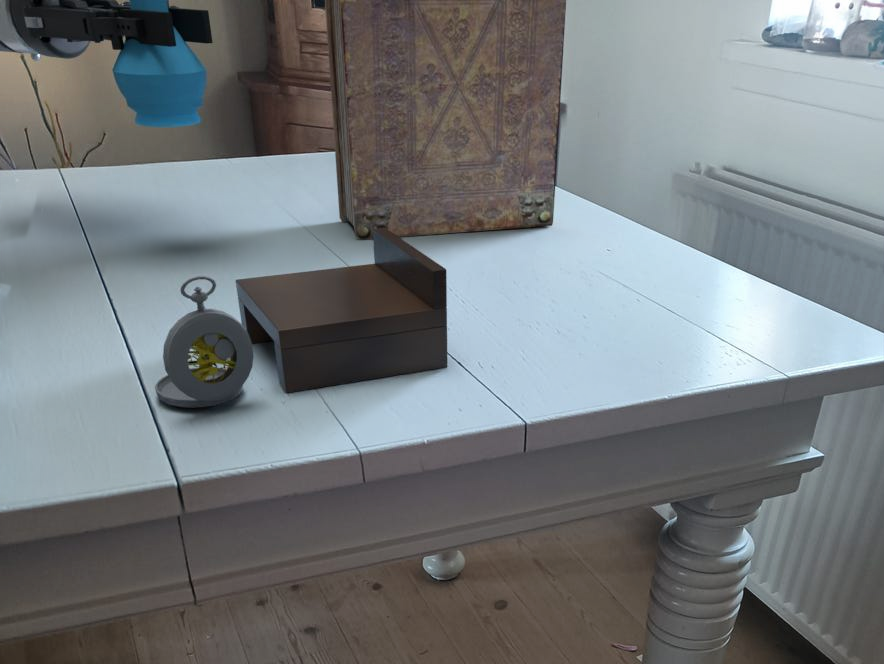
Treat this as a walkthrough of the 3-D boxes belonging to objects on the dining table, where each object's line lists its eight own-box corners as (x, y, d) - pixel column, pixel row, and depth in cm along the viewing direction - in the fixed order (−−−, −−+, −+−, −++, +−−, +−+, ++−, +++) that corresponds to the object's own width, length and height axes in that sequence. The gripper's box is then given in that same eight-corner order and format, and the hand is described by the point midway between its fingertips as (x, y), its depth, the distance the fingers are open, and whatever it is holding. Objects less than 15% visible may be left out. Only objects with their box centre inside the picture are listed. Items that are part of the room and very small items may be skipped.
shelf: (286, 393, 73) (273, 290, 68) (243, 336, 83) (229, 243, 78) (447, 367, 78) (446, 269, 73) (389, 316, 88) (384, 227, 83)
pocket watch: (190, 374, 76) (167, 246, 70) (279, 390, 74) (263, 259, 68) (126, 412, 70) (94, 275, 64) (220, 430, 68) (197, 291, 62)
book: (353, 240, 110) (332, -81, 91) (339, 221, 116) (316, -81, 98) (553, 226, 116) (571, -77, 97) (529, 209, 123) (540, -77, 104)
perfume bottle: (166, 132, 92) (135, -56, 83) (103, 123, 96) (66, -58, 87) (231, 120, 98) (208, -56, 89) (169, 112, 102) (141, -58, 93)
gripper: (114, 50, 108) (258, 66, 97) (-20, 62, 97) (126, 81, 86) (99, -29, 103) (248, -21, 93) (-44, -26, 92) (107, -18, 82)
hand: (189, 28), depth 90 cm, fingers closed on perfume bottle, 4 cm apart
